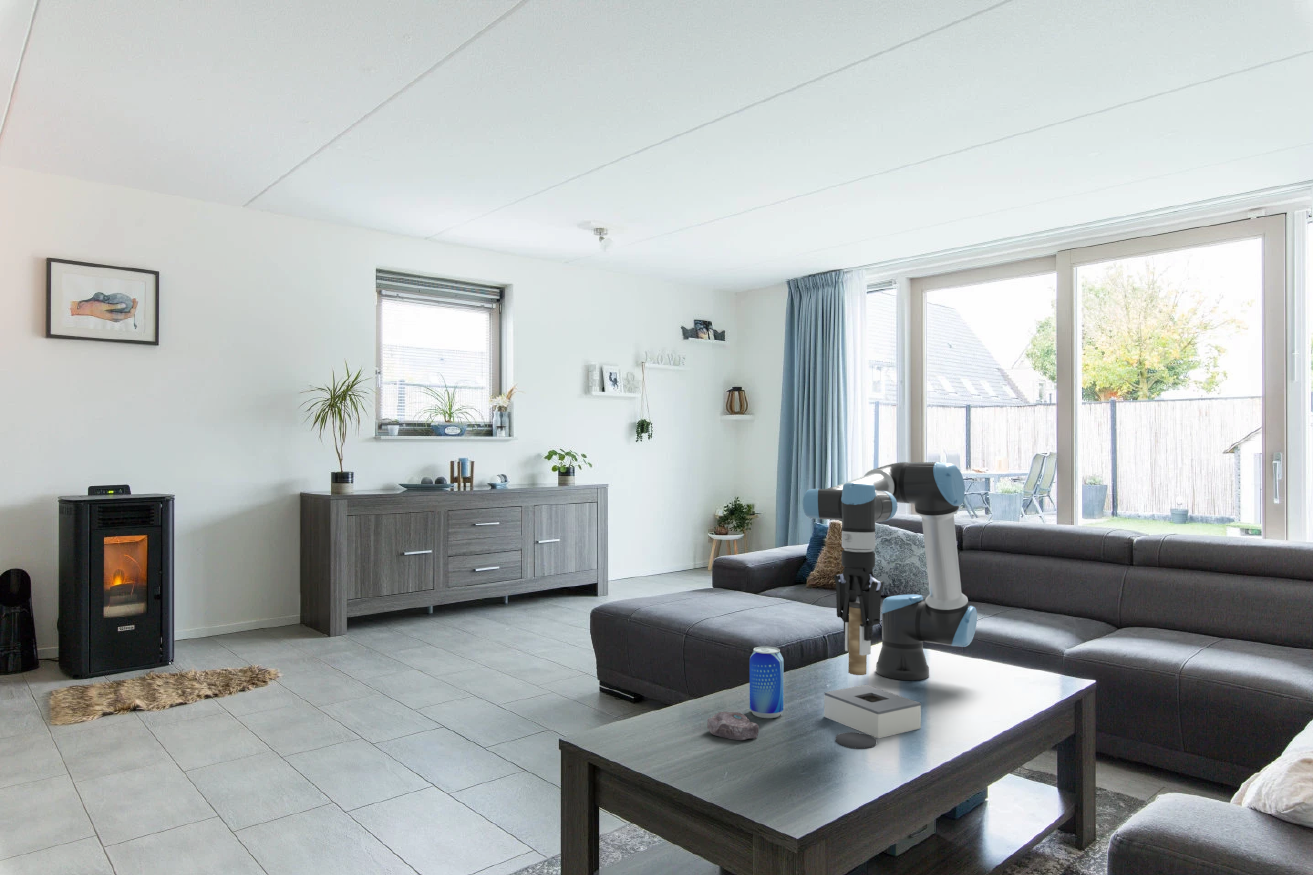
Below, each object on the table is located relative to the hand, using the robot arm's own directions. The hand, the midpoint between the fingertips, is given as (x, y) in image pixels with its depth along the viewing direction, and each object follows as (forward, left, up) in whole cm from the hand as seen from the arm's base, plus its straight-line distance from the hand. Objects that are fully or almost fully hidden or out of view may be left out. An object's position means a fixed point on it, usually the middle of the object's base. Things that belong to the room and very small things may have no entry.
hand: (857, 652), depth 188 cm
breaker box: (-7, +11, -20) cm, 24 cm away
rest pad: (+1, -2, -20) cm, 20 cm away
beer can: (-25, -7, -20) cm, 33 cm away
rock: (-17, -23, -20) cm, 35 cm away
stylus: (0, 0, -5) cm, 5 cm away
